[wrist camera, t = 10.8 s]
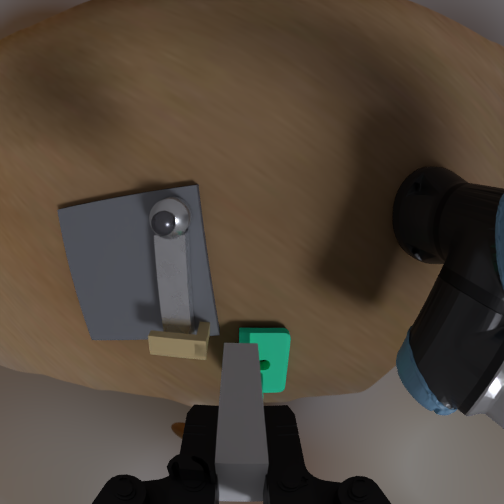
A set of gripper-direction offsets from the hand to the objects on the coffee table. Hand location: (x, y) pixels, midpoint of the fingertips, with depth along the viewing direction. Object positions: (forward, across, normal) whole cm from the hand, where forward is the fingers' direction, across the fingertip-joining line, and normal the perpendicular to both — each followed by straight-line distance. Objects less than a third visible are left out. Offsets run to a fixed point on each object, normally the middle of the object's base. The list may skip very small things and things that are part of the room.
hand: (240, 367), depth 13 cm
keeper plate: (+29, -15, -6) cm, 34 cm away
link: (+28, -9, -5) cm, 29 cm away
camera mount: (+30, +4, -20) cm, 36 cm away
